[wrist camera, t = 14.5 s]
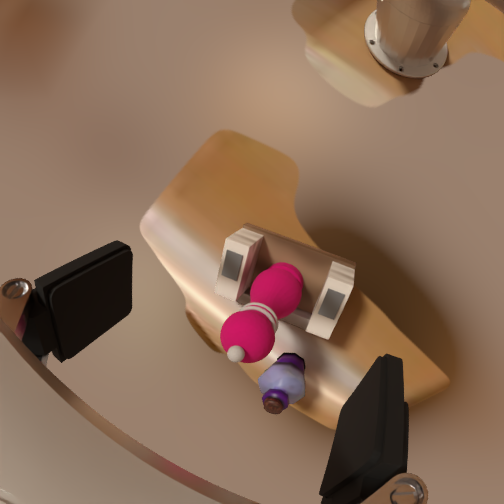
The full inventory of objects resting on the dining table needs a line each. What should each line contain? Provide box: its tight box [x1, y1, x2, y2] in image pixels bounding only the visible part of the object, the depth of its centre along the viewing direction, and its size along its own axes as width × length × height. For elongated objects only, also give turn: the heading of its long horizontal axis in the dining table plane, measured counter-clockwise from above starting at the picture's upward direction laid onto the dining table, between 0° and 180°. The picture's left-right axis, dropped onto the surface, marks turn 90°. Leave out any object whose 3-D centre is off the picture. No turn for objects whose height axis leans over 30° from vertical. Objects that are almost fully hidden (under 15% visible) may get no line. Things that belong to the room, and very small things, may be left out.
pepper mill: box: [220, 262, 303, 363], centre depth 37 cm, size 7×7×20 cm
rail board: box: [214, 223, 356, 340], centre depth 43 cm, size 12×18×8 cm, turn 76°
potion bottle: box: [258, 353, 305, 414], centre depth 47 cm, size 9×9×12 cm
